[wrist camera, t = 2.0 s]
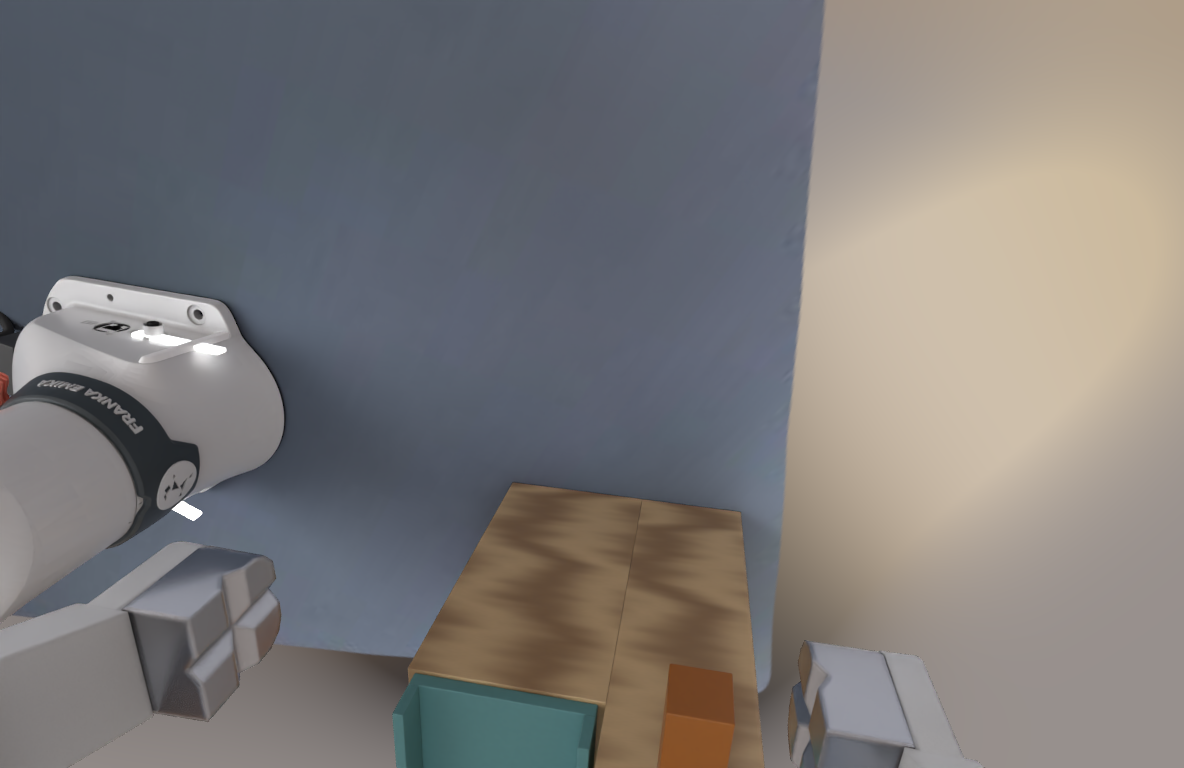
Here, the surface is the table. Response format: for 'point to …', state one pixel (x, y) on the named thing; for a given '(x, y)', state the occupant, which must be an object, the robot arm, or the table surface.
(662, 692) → the riser
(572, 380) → the table surface
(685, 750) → the orange block with handle
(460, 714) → the tray
